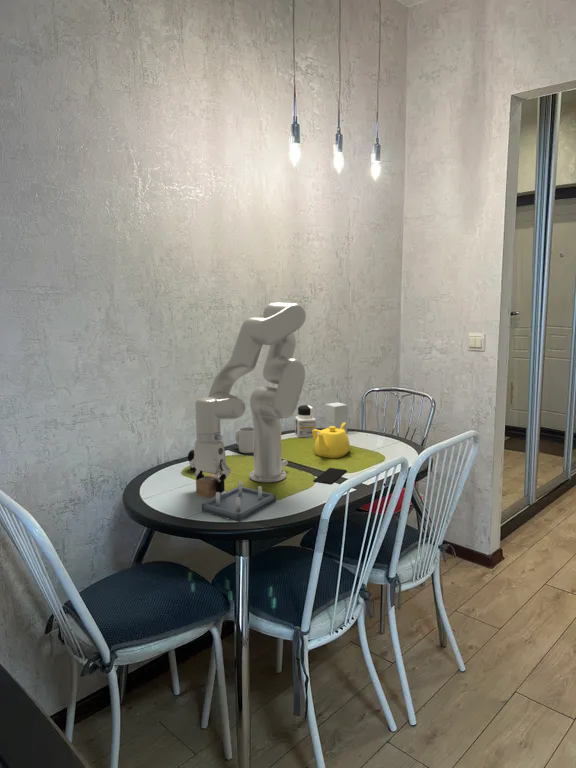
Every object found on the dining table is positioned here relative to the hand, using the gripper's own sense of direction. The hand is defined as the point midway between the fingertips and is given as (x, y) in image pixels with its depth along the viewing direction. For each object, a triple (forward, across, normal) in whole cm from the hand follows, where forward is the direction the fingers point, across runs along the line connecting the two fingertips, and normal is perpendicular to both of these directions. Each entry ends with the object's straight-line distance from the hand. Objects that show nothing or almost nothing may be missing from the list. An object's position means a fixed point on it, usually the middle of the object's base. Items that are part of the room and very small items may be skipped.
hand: (210, 489), depth 179 cm
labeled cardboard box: (+1, 0, 0) cm, 1 cm away
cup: (+1, +19, -43) cm, 47 cm away
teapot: (+1, -11, -58) cm, 59 cm away
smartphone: (+1, -25, -34) cm, 42 cm away
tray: (+1, -15, +4) cm, 16 cm away
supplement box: (+1, +2, -88) cm, 88 cm away
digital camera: (+1, +20, -18) cm, 27 cm away
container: (+1, +11, -76) cm, 77 cm away
